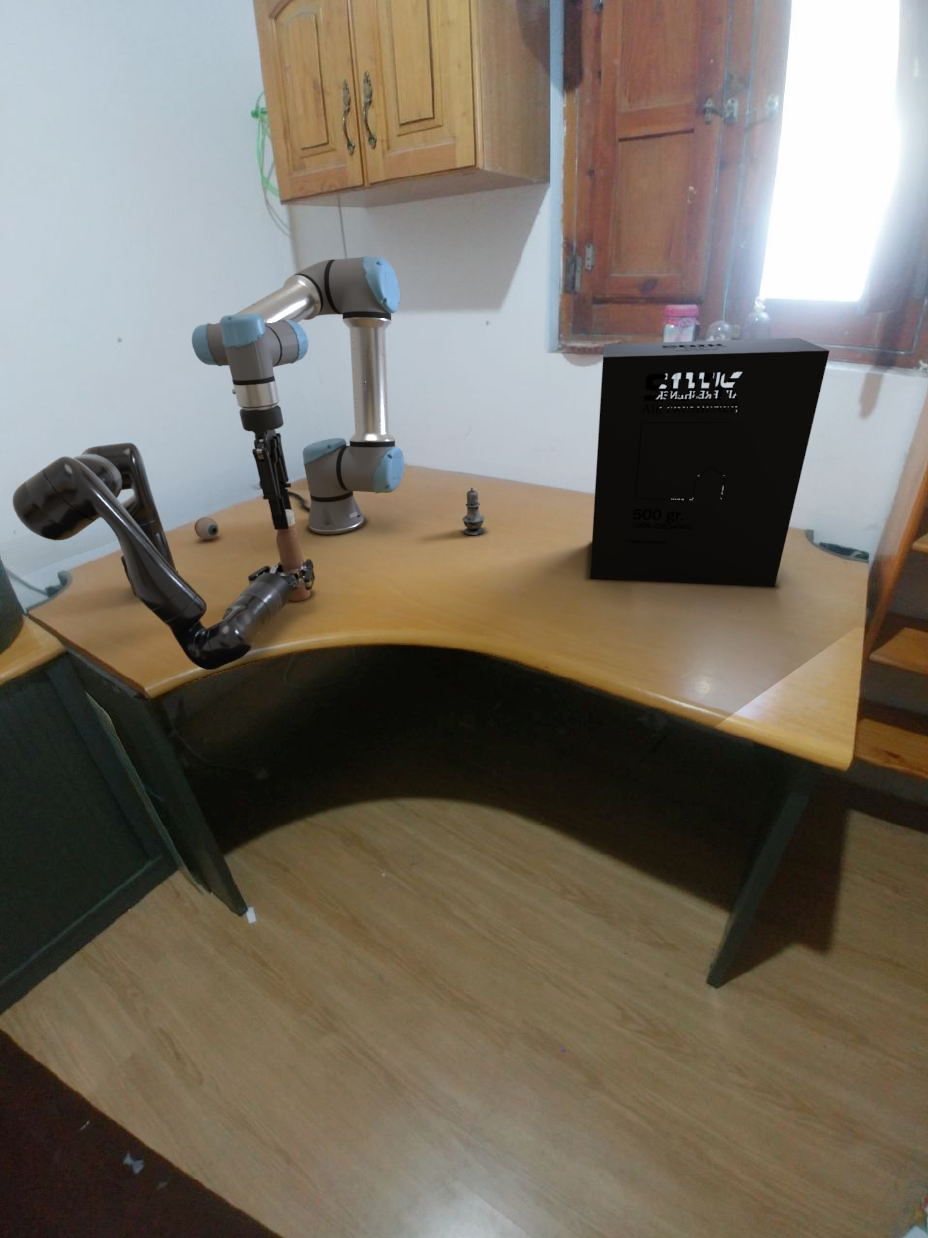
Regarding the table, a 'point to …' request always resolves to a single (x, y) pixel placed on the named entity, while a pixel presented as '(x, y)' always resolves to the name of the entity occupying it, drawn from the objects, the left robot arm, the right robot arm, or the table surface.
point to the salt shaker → (473, 515)
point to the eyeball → (206, 528)
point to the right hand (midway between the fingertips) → (284, 523)
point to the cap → (288, 517)
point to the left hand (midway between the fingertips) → (298, 562)
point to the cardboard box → (701, 458)
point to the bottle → (291, 557)
